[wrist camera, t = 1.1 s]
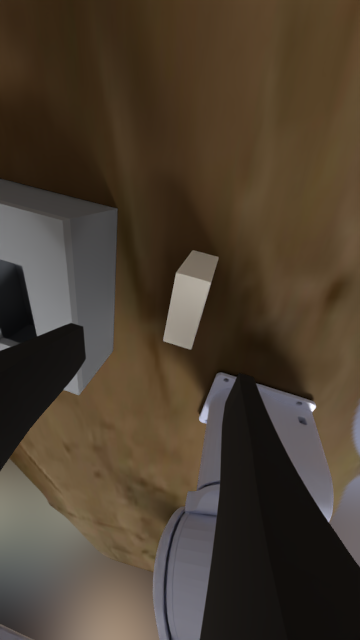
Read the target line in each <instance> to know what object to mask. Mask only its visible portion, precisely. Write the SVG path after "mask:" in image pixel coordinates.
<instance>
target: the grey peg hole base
mask: <svg viewBox="0 0 360 640" xmlns="http://www.w3.org/2000/svg"><path fill="white" fill-rule="evenodd" d="M117 210H118V209H117V208H113V207H109V206H105V205H101V204H97V203H94V202H90V201H86V200H82V199H78V198H74V197H70V196H66V195H62V194H59V193H55V192H51V191H47V190H43V189H39V188H35V187H31V186H27V185H23V184H20V183H16V182H12V181H8V180H4V179H0V351H1V350H4V349H6V348H9V347H12V346H14V345H17V344H20V343H22V342H25V341H27V340H30V339H32V338H35V337H37V336H39V335H42V334H44V333H47V332H49V331H52V330H54V329H56V328H59V327H61V326H64V325H67V324H69V323H73V324H77V325H80V326H83V329H84V341H85V353H86V360H85V361H84V363H83V365H82V366H81V368H80V369H79V371H78V372H77V374H76V375H75V376H74V378H73V379H72V380H71V381H70V383H69V384H68V385H67V386H66V387H65V388H64V390H66V391H69V392H72V393H74V394H77V395H80V393H81V392H82V391H83V389H84V388H85V387H86V385H87V384H88V383H89V382H90V380H91V379H92V378H93V376H94V375H95V374H96V372H97V371H98V370H99V369H100V367H101V366H102V365H103V363H104V362H105V361H106V359H107V358H108V357H109V355H110V354H111V353H112V352H113V335H114V304H115V273H116V242H117Z"/></svg>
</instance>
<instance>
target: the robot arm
mask: <svg viewBox="0 0 360 640" xmlns="http://www.w3.org/2000/svg"><path fill="white" fill-rule="evenodd" d="M85 360H86V353H85V341H84V329H83V326H80V325H77V324H73V323H69V324H67V325H64V326H61V327H59V328H56V329H54V330H52V331H49V332H47V333H44V334H42V335H39V336H37V337H35V338H32V339H30V340H27V341H25V342H22V343H20V344H17V345H14V346H12V347H9V348H6V349H4V350H1V351H0V471H1V469H2V468H3V466H4V465H5V463H6V462H7V460H8V459H9V457H10V456H11V455H12V453H13V452H14V450H15V449H16V447H17V446H18V445H19V443H20V442H21V441H22V439H23V438H24V436H25V435H26V434H27V432H28V431H29V429H30V428H31V427H32V426H33V424H34V423H35V422H36V421H37V419H38V418H39V417H40V416H41V415H42V414H43V413H44V411H45V410H46V409H47V408H48V407H49V406H50V405H51V403H52V402H53V401H54V400H55V399H56V398H57V396H58V395H59V394H60V393H61V392H62V391H63V390H64V388H65V387H66V386H67V385H68V384H69V383H70V381H71V380H72V379H73V378H74V376H75V375H76V374H77V372H78V371H79V369H80V368H81V366H82V365H83V363H84V361H85ZM225 378H227V379H225ZM315 408H316V405H315V402H314V401H311V400H308V399H305V398H302V397H299V396H295V395H292V394H289V393H286V392H283V391H279V390H276V389H273V388H270V387H267V386H264V385H260V384H257V383H256V382H255V379H254V378H253V377H251V376H248V375H245V374H241V373H239V374H238V376H237V377H235V376H232V375H229V374H225V373H222V372H220V373H217V374H216V377H215V379H214V382H213V384H212V387H211V389H210V391H209V394H208V396H207V399H206V401H205V404H204V406H203V408H202V411H201V413H200V416H199V420H200V421H201V422H203V423H206V431H205V438H204V444H203V451H202V458H201V465H200V471H199V478H198V485H197V491H189V492H188V494H187V499H186V505H185V506H184V507H180V508H178V509H177V510H176V511H175V512H174V513H173V514H172V516H171V518H170V519H169V521H168V523H167V525H166V527H165V529H164V531H163V533H162V536H161V539H160V542H159V545H158V549H157V554H156V559H155V566H154V576H153V602H154V609H155V617H156V623H157V628H158V633H159V639H160V640H360V567H359V566H358V564H357V563H356V562H355V561H354V559H353V558H352V556H351V555H350V553H349V552H348V550H347V549H346V547H345V546H344V544H343V543H342V541H341V540H340V538H339V537H338V535H337V534H336V532H335V531H334V529H333V528H332V527H331V525H330V524H329V521H330V519H331V515H332V511H333V484H332V478H331V474H330V471H329V467H328V464H327V461H326V457H325V454H324V451H323V447H322V444H321V441H320V437H319V434H318V431H317V428H316V424H315V421H314V418H313V414H312V412H313V410H314V409H315ZM0 640H33V639H31V638H29V637H27V636H24V635H22V634H20V633H18V632H16V631H14V630H12V629H9V628H7V627H5V626H3V625H1V624H0Z"/></svg>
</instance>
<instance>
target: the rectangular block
mask: <svg viewBox="0 0 360 640" xmlns="http://www.w3.org/2000/svg"><path fill="white" fill-rule="evenodd" d="M218 258H219V257H217V256H213V255H209V254H206V253H202V252H198V251H194V250H192V252H191V253H190V254H189V256H188V257H187V258H186V260H185V261H184V262H183V264H182V265H181V267H180V268H179V269H178V271H177V272H176V276H175V281H174V286H173V291H172V296H171V302H170V307H169V312H168V317H167V322H166V328H165V333H164V338H163V341H164V342H167V343H171V344H174V345H177V346H180V347H184V348H187V349H190V350H191V349H192V346H193V342H194V339H195V336H196V332H197V329H198V326H199V323H200V319H201V316H202V313H203V309H204V306H205V303H206V299H207V296H208V292H209V289H210V286H211V282H212V279H213V275H214V272H215V269H216V265H217V262H218Z"/></svg>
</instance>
